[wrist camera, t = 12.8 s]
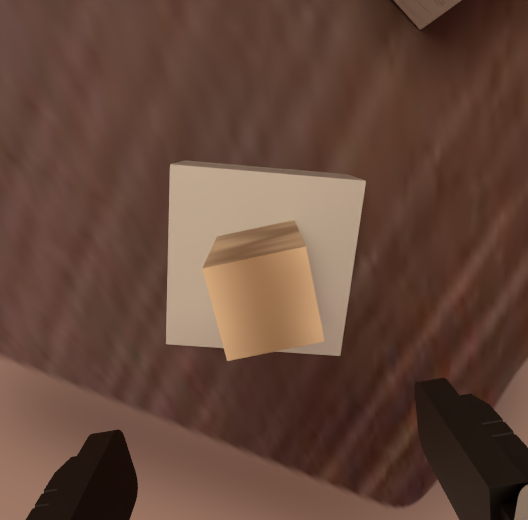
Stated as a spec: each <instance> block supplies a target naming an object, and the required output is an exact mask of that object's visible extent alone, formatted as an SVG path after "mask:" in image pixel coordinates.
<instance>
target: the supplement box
mask: <svg viewBox="0 0 528 520" xmlns="http://www.w3.org/2000/svg"><path fill="white" fill-rule="evenodd" d="M393 1H394V2H395V3H396V4H397V5H398V6H399V7H400V8H401V9H402V10H403V12H404V13H405V14H406V15H407V16H408V17H409V18H410V19H411V20H412V21H413V23H414V24H415V25H416V26H417V27H418V28H419V29H422V28H424V27H425V26H427V25H428V24H430V23H431V22H432V21H434V20H435V19H436V18H438V17H439V16H441V15H442V14H443V13H445V12H446V11H448V10H449V9H450V8H452V7H453V6H454V5H456V4H457V3H459V2H460V1H461V0H393Z"/></svg>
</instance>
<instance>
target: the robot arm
mask: <svg viewBox="0 0 528 520" xmlns="http://www.w3.org/2000/svg"><path fill="white" fill-rule="evenodd" d="M415 400H416V411H417V422H418V432H419V437H420V441H421V445H422V448H423V451H424V453H425V456H426V458H427V460H428V462H429V463H430V465H431V467H432V469H433V471H434V473H435V475H436V477H437V478H438V480H439V482H440V484H441V486H442V488H443V490H444V492H445V493H446V495H447V497H448V499H449V500H450V503H451V504H452V506H453V508H454V510H455V512H456V514H457V516H458V518H459V520H528V448H527V446H526V445H525V444H524V443H523V442H522V441H521V440H520V438H519V437H517V435H514V433H513V431H512V430H511V429H510V427H509V426H508V425H507V424H506V423H505V422H503V420H502V418H501V417H500V416H499V415H498V414H497V412H496V411H495V410H494V409H493V408H492V407H491V406H490V405H489V404H487V403H486V402H484V401H482V400H480V399H479V398H477V397H475V396H474V395H472V394H467V395H461V396H459V394H458V393H457V392H456V390H455V389H454V388H453V387H452V385H451V384H450V383H449V382H448V381H447V379H445V378H439V379H433V380H427V381H421V382H416V383H415ZM137 491H138V483H137V476H136V472H135V469H134V466H133V463H132V460H131V456H130V453H129V450H128V447H127V444H126V441H125V437H124V435H123V433H122V432H121V431H120V430H113V431H107V432H101V433H95V434H91V435H90V436H89V437H88V438H87V440H86V442H85V443H84V445H83V447H82V448H81V450H80V452H79V453H78V455H77V456H75V457H71V458H70V459H69V460H68V461H67V462H66V463H65V464H64V465H63V466H62V467H61V468H60V469H58V470H57V471H56V472H55V473H54V475H53V477H52V478H51V480H50V481H49V483H48V485H47V486H46V488H45V489H44V494H41V496H40V498H39V499H38V501H37V503H36V504H35V508H34V509H32V510H31V512H30V514H29V515H28V517H27V519H26V520H129V519H130V517H131V514H132V510H133V508H134V505H135V502H136V498H137Z"/></svg>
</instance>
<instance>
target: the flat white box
mask: <svg viewBox="0 0 528 520" xmlns="http://www.w3.org/2000/svg"><path fill="white" fill-rule="evenodd" d="M365 184H366V181H365V180H362V179H359V178H356V177H353V176H350V175H348V174H338V173H326V172H315V171H303V170H291V169H279V168H267V167H256V166H244V165H232V164H220V163H209V162H197V161H182V162H178V163H173V164H170V191H169V235H168V279H167V323H166V344H172V345H187V346H201V347H216V348H224V347H223V343H222V340H221V336H220V332H219V329H218V325H217V321H216V318H215V314H214V310H213V307H212V303H211V299H210V296H209V292H208V288H207V284H206V281H205V277H204V273H203V270H202V268H203V266H204V264H205V261H206V259H207V257H208V255H209V253H210V251H211V248H212V246H213V244H214V242H215V240H216V238H217V236H222V235H226V234H231V233H236V232H240V231H245V230H249V229H254V228H259V227H263V226H268V225H272V224H277V223H282V222H286V221H291V220H295V223H296V225H297V227H298V229H299V232H300V234H301V236H302V238H303V241H304V243H305V245H306V249H307V254H308V259H309V264H310V269H311V274H312V279H313V284H314V289H315V295H316V300H317V305H318V310H319V315H320V320H321V325H322V330H323V335H324V340H325V341H324V342H319V343H315V344H310V345H305V346H300V347H295V348H290V349H285V350H280V351H275V352H290V353H304V354H319V355H334V356H340V354H341V347H342V340H343V333H344V327H345V320H346V313H347V306H348V300H349V293H350V286H351V279H352V272H353V266H354V259H355V252H356V245H357V238H358V232H359V225H360V218H361V211H362V204H363V198H364V191H365Z"/></svg>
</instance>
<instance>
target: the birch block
mask: <svg viewBox="0 0 528 520" xmlns="http://www.w3.org/2000/svg"><path fill="white" fill-rule="evenodd" d="M202 270H203V273H204V277H205V281H206V284H207V288H208V292H209V296H210V299H211V303H212V307H213V310H214V314H215V318H216V321H217V325H218V329H219V332H220V336H221V340H222V343H223V347H224V351H225V355H226V358H227V361H230V360H235V359H240V358H245V357H250V356H255V355H260V354H265V353H270V352H275V351H280V350H285V349H290V348H295V347H300V346H305V345H310V344H315V343H319V342H324V341H325V340H324V335H323V330H322V325H321V320H320V315H319V310H318V305H317V300H316V295H315V289H314V284H313V279H312V274H311V269H310V264H309V259H308V254H307V249H306V245H305V243H304V241H303V238H302V236H301V234H300V232H299V229H298V227H297V225H296V223H295V220H291V221H286V222H282V223H277V224H272V225H268V226H263V227H259V228H254V229H249V230H245V231H240V232H236V233H231V234H226V235H222V236H217V238H216V240H215V242H214V244H213V246H212V248H211V251H210V253H209V255H208V257H207V259H206V261H205V264H204V266H203V268H202Z"/></svg>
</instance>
